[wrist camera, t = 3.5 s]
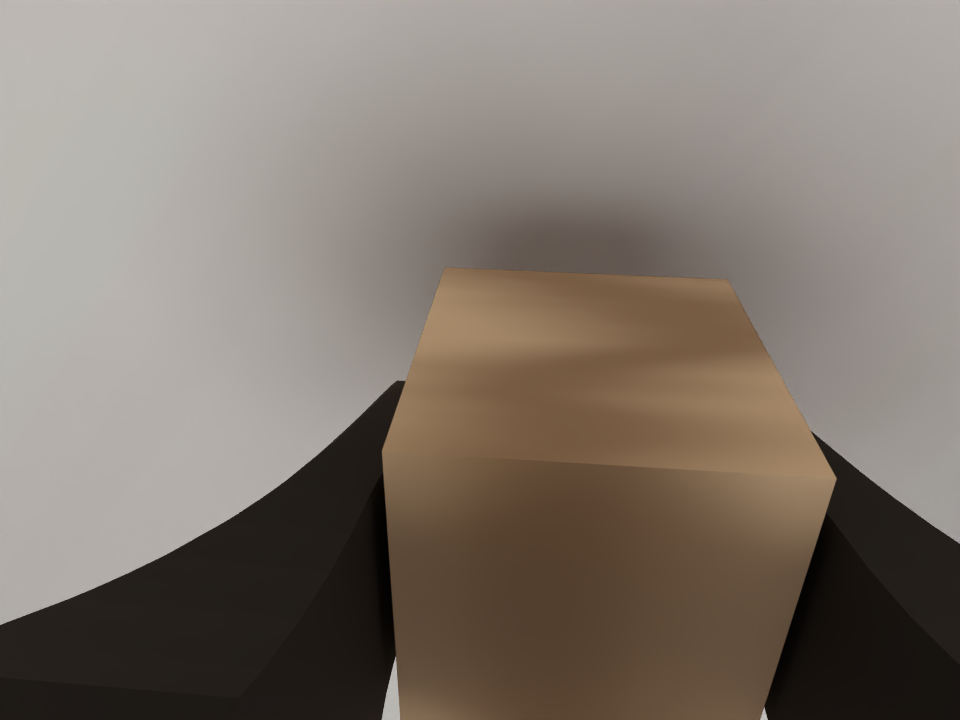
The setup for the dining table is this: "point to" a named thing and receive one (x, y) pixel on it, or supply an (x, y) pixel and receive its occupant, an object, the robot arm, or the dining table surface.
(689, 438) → the oak block
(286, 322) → the dining table surface
